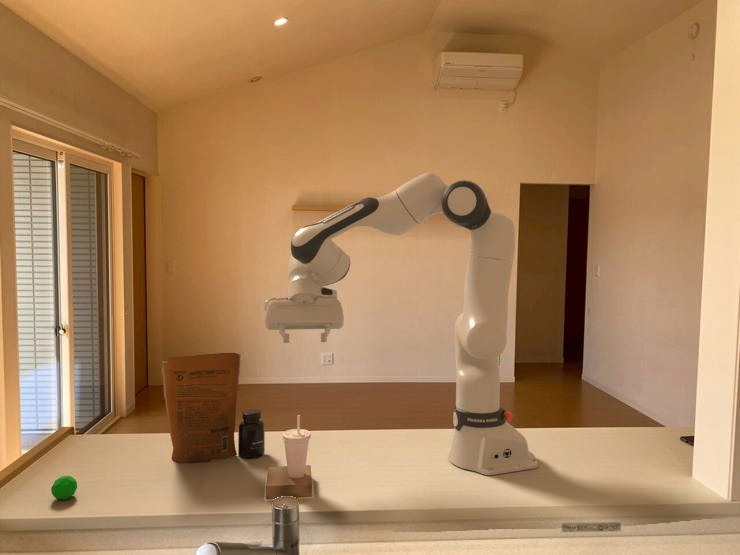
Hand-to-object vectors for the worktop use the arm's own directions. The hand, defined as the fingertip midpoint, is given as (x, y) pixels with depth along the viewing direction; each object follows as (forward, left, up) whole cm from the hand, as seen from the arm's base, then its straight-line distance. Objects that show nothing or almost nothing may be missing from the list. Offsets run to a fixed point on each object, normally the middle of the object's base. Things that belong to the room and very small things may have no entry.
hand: (305, 341), depth 141 cm
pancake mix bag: (+26, -5, -32) cm, 41 cm away
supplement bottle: (+14, -6, -32) cm, 35 cm away
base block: (+4, +15, -31) cm, 35 cm away
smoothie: (+2, +15, -28) cm, 32 cm away
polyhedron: (+53, +13, -32) cm, 63 cm away
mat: (+5, +15, -31) cm, 35 cm away
